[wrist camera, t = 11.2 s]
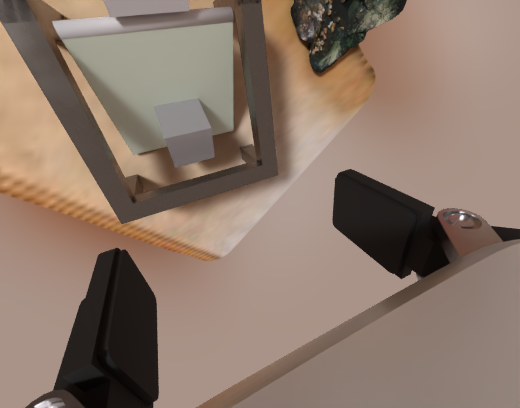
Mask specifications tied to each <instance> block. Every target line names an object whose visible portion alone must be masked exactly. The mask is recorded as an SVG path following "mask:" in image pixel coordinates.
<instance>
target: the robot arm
mask: <svg viewBox="0 0 520 408" xmlns="http://www.w3.org/2000/svg"><path fill="white" fill-rule="evenodd" d="M433 211H434V207H432V206H430V205H428V204H426V203H424V202H421V201H419V200H417V199H415V198H413V197H411V196H408V195H406V194H404V193H402V192H400V191H397V190H396V189H393V188H391V187H389V186H387V185H385V184H383V183H380V182H378V181H376V180H374V179H372V178H370V177H367V176H365V175H363V174H361V173H359V172H357V171H354V170H352V169H349V170H345V171H343V172H340V173H338V175H337V177H336V178H335V190H334V206H333V225H334V227H335V228H336V229H338V230H339V231H340V232H341V233H342V234H344V235H345V236H346V237H347V238H348V239H350V240H351V241H352V242H353V243H355V244H356V245H357V246H358V247H359V248H361V249H362V250H363V251H364V252H366V253H367V254H368V255H369V256H370V257H372V258H373V259H374V260H375V261H377V262H378V263H379V264H380V265H381V266H383V267H384V268H385V269H386V270H387V271H389V272H390V273H392V274H395V275H397V276H398V277H399V278H401V279H402V278H404V277H406V276H408V275H410V274H411V271H412V270H413V271H414V272H416V275H417V278H418V281H417V282H416V283H414V284H412V285H410V286H408V287H407V288H405V289H403V290H401V291H400V292H397V293H396V294H394V295H392V296H390V297H388V298H387V299H385V300H383V301H381V302H380V303H378V304H376V305H374V306H372V307H371V308H369V309H367V310H366V311H364V312H362V313H360V314H358V315H357V316H355V317H353V318H351V319H349V320H348V321H346V322H344V323H342V324H341V325H339V326H337V327H335V328H333V329H332V330H330V331H328V332H326V333H325V334H323V335H321V336H319V337H318V338H316V339H314V340H312V341H310V342H309V343H307V344H305V345H303V346H302V347H300V348H298V349H297V350H295V351H293V352H291V353H290V354H288V355H286V356H284V357H283V358H281V359H279V360H277V361H275V362H274V363H272V364H270V365H268V366H267V367H265V368H263V369H261V370H260V371H258V372H256V373H255V374H253V375H251V376H249V377H247V378H246V379H244V380H242V381H240V382H239V383H237V384H235V385H233V386H232V387H230V388H228V389H227V390H225V391H223V392H222V393H220V394H218V395H216V396H215V397H213V398H211V399H210V400H208V401H206V402H205V403H203V404H201V405H200V406H198V407H196V408H520V229H513V228H504V227H494V226H490V225H489V224H488V223H487V221H486V220H484V219H483V218H482V217H480V216H479V215H477V214H475V213H472V212H470V211H466V210H462V209H455V208H447V209H443V210H441V211H439V212H438V214H437V217H434V216H432V214H433ZM158 388H159V386H158V344H157V303H156V298H155V295H154V293H153V292H152V290H151V288H150V287H149V285H148V284H147V282H146V280H145V279H144V277H143V276H142V274H141V272H140V271H139V269H138V268H137V266H136V265H135V263H134V261H133V260H132V258H131V257H130V255H129V254H128V252H127V251H126V250H122V251H121V250H120V249H119V248H115V249H112V250H109V251H106V252H103V253H101V254H99V255H98V258H97V261H96V265H95V268H94V271H93V275H92V278H91V281H90V285H89V288H88V292H87V295H86V298H85V299H84V300H83V301H82V302H81V304H80V306H79V309H78V312H77V316H76V319H75V322H74V325H73V328H72V332H71V335H70V338H69V341H68V345H67V348H66V351H65V354H64V357H63V360H62V364H61V367H60V370H59V373H58V376H57V379H56V383H55V386H54V389H53V391H51V392H48V393H46V394H43V395H42V396H40V397H39V398H37V399H36V400H34V401H32V402H31V403H30V404H29V405H28V406H26V407H25V408H153V402H154V401H156V400H157V399H158V395H159V394H158V393H159V389H158Z"/></svg>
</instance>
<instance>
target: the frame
mask: <svg viewBox="0 0 520 408" xmlns="http://www.w3.org/2000/svg"><path fill="white" fill-rule="evenodd" d="M213 4H214V8H217V7H229V6H230V7H231V8H232V11H233V22H234V21H236V24H237V31H238V38H239V45H240V51H241V58H242V65H243V72H244V78H245V85H246V92H247V99H248V105H249V112H250V119H251V126H252V132H253V139H254V146H253V145H252V144H251V145H247V146H243V147H240V150H241V156H242V159H243V160H244V161H245V162H246V164H242V165H239V166H236V167H232V168H229V169H225V170H222V171H218V172H215V173H211V174H208V175H204V176H201V177H197V178H194V179H190V180H187V181H183V182H180V183H176V184H173V185H169V186H166V187H163V188H159V189H156V190H152V191H149V192H145V193H143V186H142V183H141V181H140V179H139V177H138V175H134V176H130V177H126V178H125V177H124V175H123V173H122V171H121V169H120V167H119V165H118V163H117V161H116V159H115V157H114V155H113V153H112V151H111V150H110V148H109V146H108V144H107V142H106V140H105V138H104V136H103V134H102V132H101V130H100V128H99V126H98V124H97V122H96V120H95V118H94V116H93V114H92V112H91V111H90V109H89V107H88V105H87V103H86V101H85V99H84V97H83V95H82V93H81V91H80V89H79V87H78V85H77V83H76V81H75V79H74V77H73V75H72V73H71V71H70V70H69V68H68V66H67V64H66V62H65V60H64V58H63V56H62V54H61V52H60V50H59V48H58V46H57V44H56V42H55V41H57V40H61V38H60V37H59V35H58V34H57V32H56V30H55V28H54V26H53V23H52V21H58V20H64V19H63V17H62V15H61V14H60V13H59V12H58V11H56V10H55V9H53V8H52V7H51V6H49V5H48V4H46V3H45V2H44V1H42V0H0V21H1V23H2V24H3V26H4V28H5V29H6V31H7V33H8V34H9V36H10V38H11V39H12V41H13V43H14V44H15V46H16V48H17V49H18V51H19V53H20V55H21V56H22V58H23V60H24V61H25V63H26V65H27V66H28V68H29V70H30V71H31V73H32V75H33V76H34V78H35V80H36V81H37V83H38V85H39V86H40V88H41V90H42V91H43V93H44V95H45V96H46V98H47V100H48V101H49V103H50V105H51V106H52V108H53V110H54V111H55V113H56V115H57V117H58V118H59V120H60V122H61V123H62V125H63V127H64V128H65V130H66V132H67V133H68V135H69V137H70V138H71V140H72V142H73V143H74V145H75V147H76V148H77V150H78V152H79V153H80V155H81V157H82V158H83V160H84V162H85V163H86V165H87V167H88V168H89V170H90V172H91V173H92V175H93V177H94V179H95V180H96V182H97V184H98V185H99V187H100V189H101V190H102V192H103V194H104V195H105V197H106V199H107V200H108V202H109V204H110V205H111V207H112V209H113V210H114V212H115V214H116V215H117V217H118V219H119V220H120V222H121V224H124V223H127V222H130V221H134V220H137V219H140V218H143V217H146V216H149V215H153V214H156V213H159V212H162V211H165V210H168V209H172V208H175V207H178V206H181V205H184V204H187V203H191V202H194V201H197V200H200V199H203V198H206V197H210V196H213V195H216V194H219V193H222V192H225V191H229V190H232V189H235V188H238V187H241V186H244V185H248V184H251V183H254V182H257V181H260V180H263V179H267V178H270V177H273V176H276V175H278V170H277V160H276V149H275V139H274V129H273V118H272V108H271V97H270V87H269V77H268V66H267V56H266V45H265V35H264V25H263V14H262V4H261V0H215V1H214V2H213Z"/></svg>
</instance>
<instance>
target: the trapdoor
mask: <svg viewBox="0 0 520 408" xmlns="http://www.w3.org/2000/svg"><path fill="white" fill-rule="evenodd" d="M104 3H105V5H106V8H107V10H108V13H109V15H110V16H107V17H95V18H83V19H70V20H58V21H52V23H53V26H54V28H55V30H56V32H57V34H58V35H59V37H60V38H61V40H62V41H63V43H64V44H65V46H66V48H67V49H68V51H69V52H70V54H71V56H72V57H73V59H74V60H75V62H76V64H77V65H78V67H79V68H80V70H81V72H82V73H83V75H84V76H85V78H86V80H87V81H88V83H89V85H90V86H91V88H92V89H93V91H94V93H95V94H96V96H97V97H98V99H99V101H100V102H101V104H102V105H103V107H104V109H105V110H106V112H107V113H108V115H109V117H110V118H111V120H112V121H113V123H114V125H115V126H116V128H117V129H118V131H119V133H120V134H121V136H122V137H123V139H124V141H125V142H126V144H127V145H128V147H129V149H130V150H131V152H132V154H133V155H134V154H138V153H143V152H147V151H151V150H155V149H159V148H163V147H167V145H166V142H165V139H164V136H163V133H162V130H161V127H160V124H159V121H158V118H157V115H156V112H155V109H154V106H157V105H163V104H168V103H174V102H179V101H184V100H190V99H195V98H198V99H199V101H200V104H201V106H202V108H203V110H204V113H205V115H206V117H207V119H208V121H209V124H210V126H211V128H212V136H213V135H217V134H221V133H226V132H230V131H233V11H232V8H231V7H230V6H229V7H217V8H205V9H193V10H189V4H188V0H104Z"/></svg>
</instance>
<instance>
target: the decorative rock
mask: <svg viewBox="0 0 520 408" xmlns="http://www.w3.org/2000/svg"><path fill="white" fill-rule="evenodd" d="M406 1H407V0H294V4H293V6H292V7H291V16H292V18H293V20H294V23H295V25H296V30H297V33H298V35H299V36H300V37H301V38H302V39H303V40H304V41H305V42H307V43H308V44H309V43H311V46H310V54H309V58H310V63H311V65H312V68H313V69H314V70H315V71H316V72H323V71H324V70H325V69H326V68H328V67H330V66H331V65H333V64H334V63H335V62H336V61H337V59H338V58H339V57H341V56H343V55H344V54H345V53H346V52H347V51H348V50H349V49H350V48H352V47H355V46H356V45H358V44H359V43H360V42H362V41H363V40H364V38H365V36H366V32H367V31H368V30H370V29H373V28H375V27H377V26H379V25H381V24H383V23H385V22H387V21H389V20H391V19H393V18H394V17H395V16H397V15H398V14H399V13H400V12H401V11H402V10H403V8H404V6H405V4H406Z"/></svg>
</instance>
